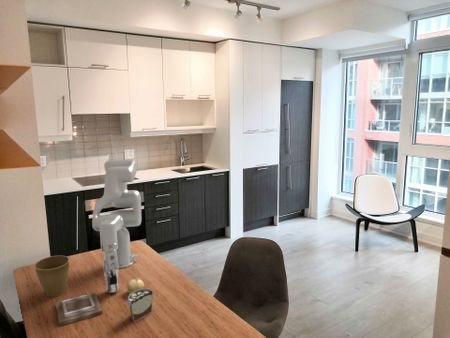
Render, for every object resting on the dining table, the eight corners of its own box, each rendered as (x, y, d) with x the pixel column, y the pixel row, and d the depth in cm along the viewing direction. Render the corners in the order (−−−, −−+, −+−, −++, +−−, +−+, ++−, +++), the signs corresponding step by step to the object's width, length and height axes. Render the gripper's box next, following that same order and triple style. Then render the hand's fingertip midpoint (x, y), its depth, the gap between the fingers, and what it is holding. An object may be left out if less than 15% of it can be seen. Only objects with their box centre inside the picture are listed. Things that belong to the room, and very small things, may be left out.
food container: (145, 305, 154) (144, 285, 153) (154, 310, 151) (153, 289, 149) (122, 318, 145) (121, 296, 143) (131, 324, 141) (129, 301, 139)
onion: (141, 296, 162) (140, 283, 161) (124, 296, 162) (124, 282, 161) (146, 288, 170) (145, 274, 168) (130, 287, 170) (129, 274, 169)
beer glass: (115, 293, 162) (113, 264, 159) (102, 292, 163) (99, 263, 160) (122, 286, 169) (120, 258, 165) (109, 284, 170) (107, 256, 167)
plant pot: (41, 287, 170) (38, 257, 167) (73, 283, 175) (71, 253, 172) (34, 303, 156) (31, 271, 153) (70, 298, 161) (67, 266, 158)
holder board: (95, 295, 163) (95, 289, 162) (102, 313, 148) (102, 307, 148) (56, 305, 155) (55, 299, 154) (59, 326, 140) (58, 319, 140)
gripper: (121, 251, 156) (124, 286, 159) (113, 238, 171) (115, 271, 174) (104, 254, 152) (107, 291, 156) (97, 241, 167) (100, 274, 170)
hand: (111, 280), depth 165 cm, fingers closed on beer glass, 6 cm apart
